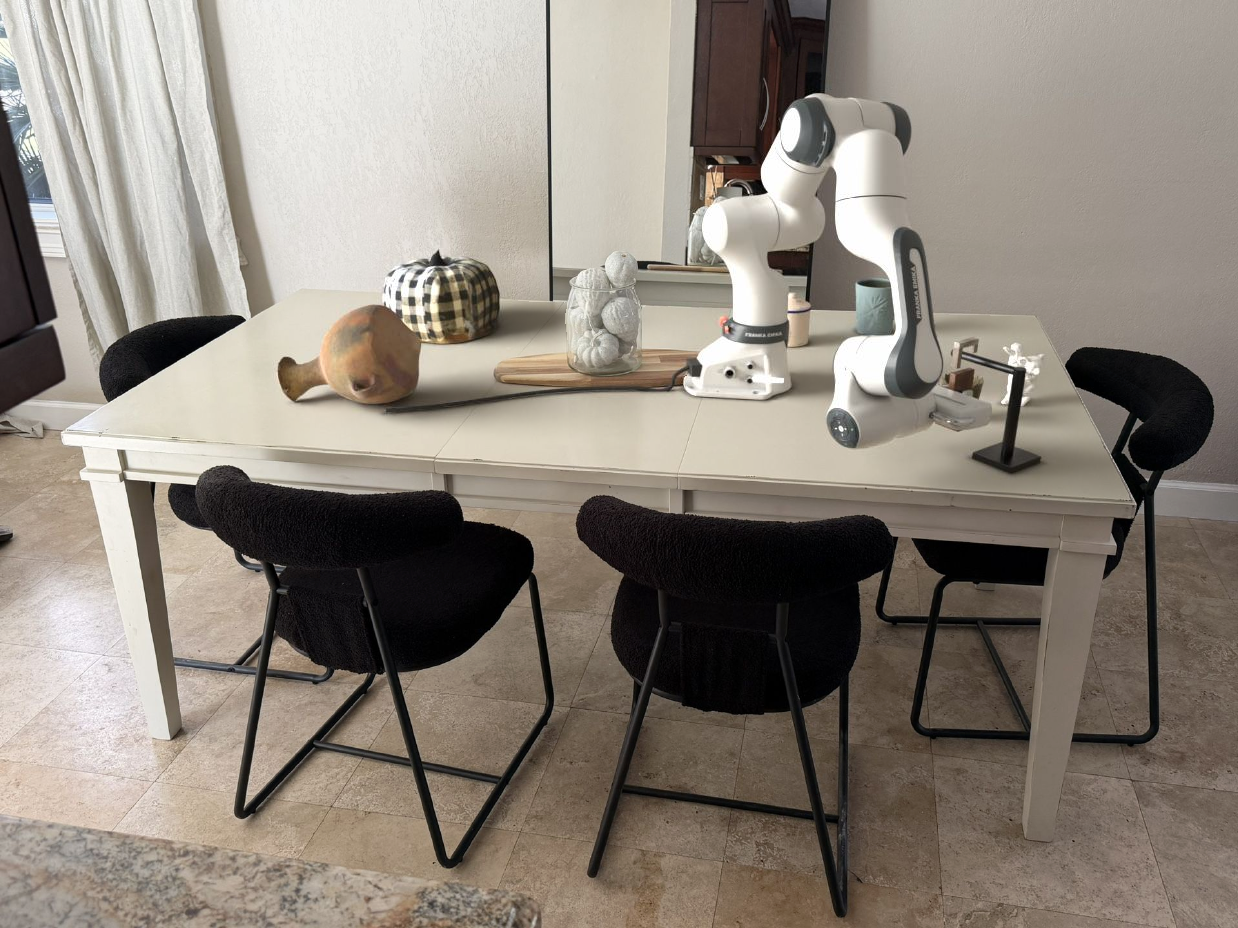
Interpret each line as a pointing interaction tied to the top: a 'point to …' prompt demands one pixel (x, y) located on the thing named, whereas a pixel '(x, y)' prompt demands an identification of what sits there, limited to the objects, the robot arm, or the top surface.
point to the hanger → (963, 376)
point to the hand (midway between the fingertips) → (963, 391)
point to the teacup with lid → (798, 320)
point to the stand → (1006, 452)
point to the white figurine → (1033, 369)
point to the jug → (359, 359)
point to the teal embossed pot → (874, 306)
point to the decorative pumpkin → (444, 298)
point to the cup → (975, 387)
